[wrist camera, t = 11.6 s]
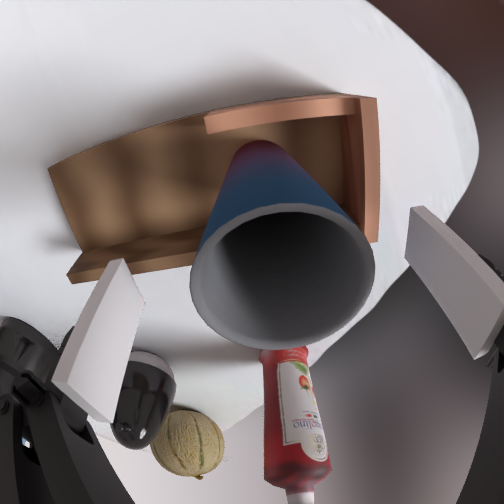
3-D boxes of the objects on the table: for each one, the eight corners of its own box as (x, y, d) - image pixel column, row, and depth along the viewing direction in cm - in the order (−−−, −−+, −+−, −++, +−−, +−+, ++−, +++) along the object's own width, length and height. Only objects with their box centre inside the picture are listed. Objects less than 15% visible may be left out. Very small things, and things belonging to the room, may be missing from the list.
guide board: (94, 251, 29) (67, 290, 23) (58, 162, 23) (17, 188, 17) (350, 205, 27) (377, 241, 21) (341, 93, 21) (376, 98, 15)
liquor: (318, 341, 38) (356, 536, 14) (287, 367, 41) (307, 542, 18) (277, 325, 36) (302, 551, 12) (247, 354, 39) (253, 549, 15)
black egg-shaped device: (174, 344, 37) (157, 443, 25) (183, 381, 43) (173, 463, 30) (109, 336, 37) (80, 425, 24) (127, 374, 42) (108, 450, 30)
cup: (213, 135, 21) (166, 218, 8) (299, 125, 21) (386, 194, 8) (226, 211, 25) (211, 356, 12) (303, 202, 24) (362, 337, 12)
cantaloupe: (145, 395, 47) (133, 464, 34) (220, 399, 47) (218, 473, 34) (166, 423, 55) (160, 480, 42) (228, 426, 55) (228, 485, 42)
